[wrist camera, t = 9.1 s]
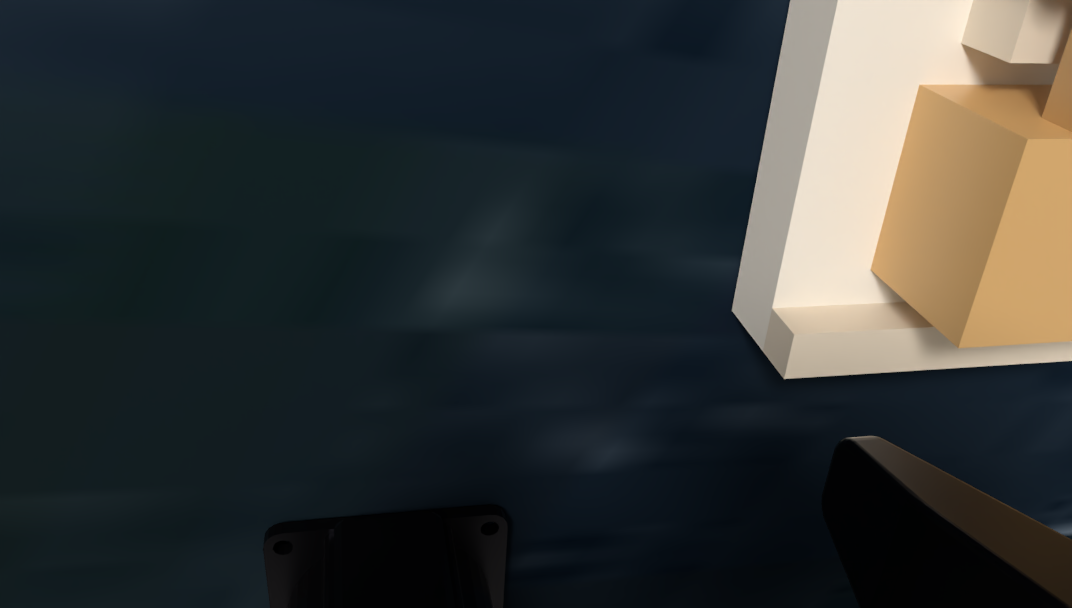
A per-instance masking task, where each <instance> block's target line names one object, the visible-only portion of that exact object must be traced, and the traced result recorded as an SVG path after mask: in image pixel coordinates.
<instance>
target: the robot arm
mask: <svg viewBox="0 0 1072 608" xmlns="http://www.w3.org/2000/svg"><path fill="white" fill-rule="evenodd" d="M822 511H823V516H824V519H825V522H826V524H827V527H828V529H829V532H830V534H831V537H832V539H833V542H834V544H835V547H836V549H837V552H838V554H839V557H840V559H841V562H842V564H843V567H844V569H845V572H846V574H847V577H848V579H849V582H850V584H851V587H852V589H853V592H854V594H855V597H856V599H857V602H858V604H859V607H860V608H1072V540H1071V539H1069V538H1067V537H1066V536H1064V535H1062V534H1060V533H1058V532H1056V531H1054V530H1053V529H1051V528H1049V527H1047V526H1045V525H1043V524H1041V523H1039V522H1038V521H1036V520H1034V519H1032V518H1030V517H1028V516H1026V515H1024V514H1023V513H1021V512H1019V511H1017V510H1015V509H1013V508H1011V507H1009V506H1008V505H1006V504H1004V503H1002V502H1000V501H998V500H996V499H995V498H993V497H991V496H989V495H987V494H985V493H983V492H981V491H980V490H978V489H976V488H974V487H972V486H970V485H968V484H966V483H965V482H963V481H961V480H959V479H957V478H955V477H953V476H952V475H950V474H948V473H946V472H944V471H942V470H940V469H938V468H937V467H935V466H933V465H931V464H929V463H927V462H925V461H923V460H922V459H920V458H918V457H916V456H914V455H912V454H910V453H909V452H907V451H905V450H903V449H901V448H899V447H897V446H895V445H894V444H892V443H890V442H888V441H886V440H884V439H882V438H880V437H877V436H863V437H851V438H845V439H843V440H841V441H840V442H839V443H838V444H837V445H836V448H835V450H834V454H833V457H832V461H831V464H830V468H829V472H828V475H827V479H826V483H825V486H824V490H823V494H822ZM487 522H494V523H493V524H491V525H488V526H486V525H483V524H485V523H487ZM507 531H508V526H507V521H506V517H505V513H504V511H503V510H502V509H501V508H500V507H498V506H495V505H482V506H470V507H459V508H447V509H436V510H424V511H413V512H401V513H390V514H378V515H367V516H355V517H344V518H332V519H321V520H310V521H298V522H287V523H280V524H275V525H273V526H272V527H270V528H269V529H268V530H267V531H266V533H265V538H264V548H263V551H264V559H265V568H266V576H267V585H268V593H269V601H270V608H503V600H504V582H505V565H506V548H507ZM282 540H283V541H289V542H290V543H287V544H279V543H277V542H278V541H282Z"/></svg>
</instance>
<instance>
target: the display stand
mask: <svg viewBox="0 0 1072 608" xmlns="http://www.w3.org/2000/svg"><path fill="white" fill-rule="evenodd" d="M1071 29H1072V0H790V5H789V10H788V16H787V21H786V26H785V32H784V37H783V42H782V47H781V53H780V58H779V63H778V69H777V74H776V79H775V84H774V90H773V95H772V100H771V106H770V111H769V116H768V121H767V127H766V132H765V137H764V143H763V148H762V153H761V158H760V164H759V169H758V174H757V180H756V185H755V190H754V195H753V201H752V206H751V211H750V217H749V222H748V227H747V233H746V238H745V243H744V248H743V254H742V259H741V264H740V270H739V275H738V280H737V285H736V291H735V296H734V301H733V307H732V312H733V313H734V314H735V316H736V317H737V318H738V319H739V321H740V322H741V323H742V325H743V326H744V327H745V329H746V330H747V331H748V333H749V334H750V335H751V337H752V338H753V339H754V340H755V342H756V343H757V344H758V346H759V347H760V348H761V350H762V351H763V352H764V354H765V355H766V356H767V357H768V359H769V360H770V361H771V363H772V364H773V365H774V367H775V368H776V369H777V371H778V372H779V373H780V375H781V376H782V377H783V378H784V379H793V378H809V377H824V376H840V375H856V374H871V373H887V372H903V371H919V370H934V369H950V368H966V367H981V366H997V365H1013V364H1028V363H1044V362H1060V361H1072V341H1067V342H1051V343H1035V344H1019V345H1003V346H987V347H971V348H957V347H956V346H955V345H954V344H953V343H952V342H951V341H949V340H948V339H947V338H946V337H945V336H944V335H943V334H942V333H941V332H939V331H938V330H937V329H936V328H935V327H934V326H933V325H932V324H930V323H929V322H928V321H927V320H926V319H925V318H924V317H923V316H922V315H920V314H919V313H918V312H917V311H916V310H915V309H914V308H913V307H912V306H910V305H909V304H908V303H907V302H906V301H905V300H904V299H903V298H901V297H900V296H899V295H898V294H897V293H896V292H895V291H894V290H893V289H891V288H890V287H889V286H888V285H887V284H886V283H885V282H884V281H882V280H881V279H880V278H879V277H878V276H877V275H876V274H875V273H874V272H872V271H871V270H870V269H871V265H872V262H873V258H874V254H875V250H876V247H877V243H878V239H879V235H880V231H881V228H882V224H883V220H884V216H885V213H886V209H887V205H888V201H889V197H890V194H891V190H892V186H893V182H894V178H895V175H896V171H897V167H898V163H899V160H900V156H901V152H902V148H903V144H904V141H905V137H906V133H907V129H908V125H909V122H910V118H911V114H912V110H913V107H914V103H915V99H916V95H917V91H918V88H919V85H1053V82H1054V79H1055V76H1056V73H1057V70H1058V67H1059V64H1060V61H1061V59H1062V56H1063V53H1064V50H1065V47H1066V44H1067V41H1068V38H1069V35H1070V32H1071Z"/></svg>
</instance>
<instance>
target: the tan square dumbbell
mask: <svg viewBox="0 0 1072 608" xmlns="http://www.w3.org/2000/svg"><path fill="white" fill-rule="evenodd" d="M870 270H871V271H872V272H874V273H875V274H876V275H877V276H878V277H879V278H880V279H881V280H882V281H884V282H885V283H886V284H887V285H888V286H889V287H890V288H891V289H893V290H894V291H895V292H896V293H897V294H898V295H899V296H900V297H901V298H903V299H904V300H905V301H906V302H907V303H908V304H909V305H910V306H912V307H913V308H914V309H915V310H916V311H917V312H918V313H919V314H920V315H922V316H923V317H924V318H925V319H926V320H927V321H928V322H929V323H930V324H932V325H933V326H934V327H935V328H936V329H937V330H938V331H939V332H941V333H942V334H943V335H944V336H945V337H946V338H947V339H948V340H949V341H951V342H952V343H953V344H954V345H955V346H956V347H957V348H971V347H987V346H1003V345H1019V344H1035V343H1051V342H1067V341H1072V29H1071V32H1070V35H1069V38H1068V41H1067V44H1066V47H1065V50H1064V53H1063V56H1062V59H1061V61H1060V64H1059V67H1058V70H1057V73H1056V76H1055V79H1054V82H1053V85H919V88H918V91H917V95H916V99H915V103H914V107H913V110H912V114H911V118H910V122H909V125H908V129H907V133H906V137H905V141H904V144H903V148H902V152H901V156H900V160H899V163H898V167H897V171H896V175H895V178H894V182H893V186H892V190H891V194H890V197H889V201H888V205H887V209H886V213H885V216H884V220H883V224H882V228H881V231H880V235H879V239H878V243H877V247H876V250H875V254H874V258H873V262H872V265H871V269H870Z"/></svg>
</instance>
